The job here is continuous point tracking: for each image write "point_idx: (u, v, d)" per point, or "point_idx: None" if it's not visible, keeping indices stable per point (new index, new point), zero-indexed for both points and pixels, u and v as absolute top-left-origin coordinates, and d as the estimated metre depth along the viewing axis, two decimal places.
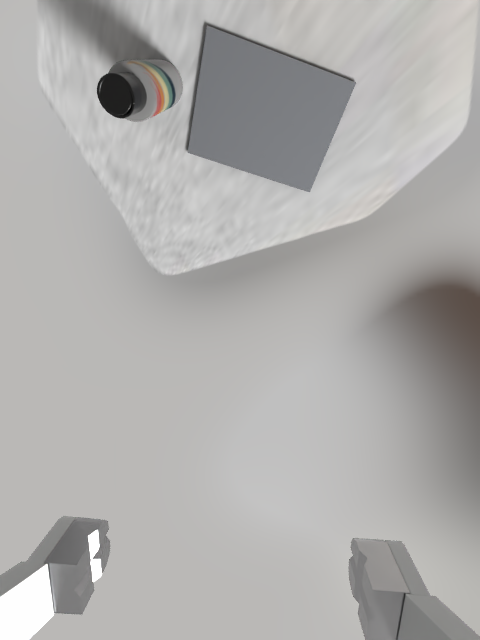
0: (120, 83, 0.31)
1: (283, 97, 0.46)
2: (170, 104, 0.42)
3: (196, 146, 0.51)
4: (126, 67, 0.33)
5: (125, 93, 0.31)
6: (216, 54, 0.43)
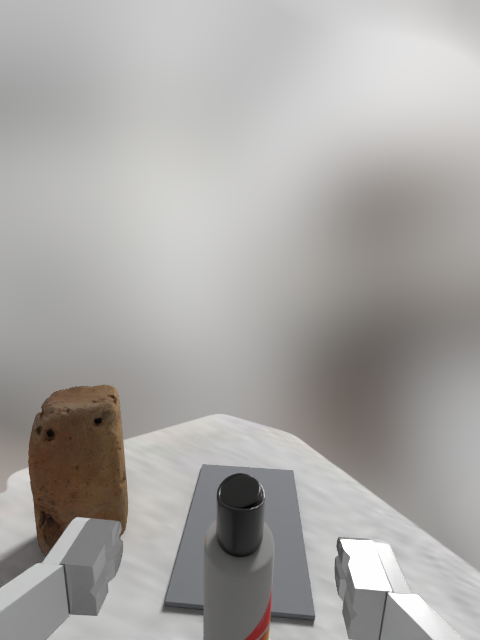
0: (225, 487, 0.24)
1: None
2: None
3: (300, 600, 0.33)
4: (211, 541, 0.24)
5: (234, 481, 0.25)
6: (192, 585, 0.35)
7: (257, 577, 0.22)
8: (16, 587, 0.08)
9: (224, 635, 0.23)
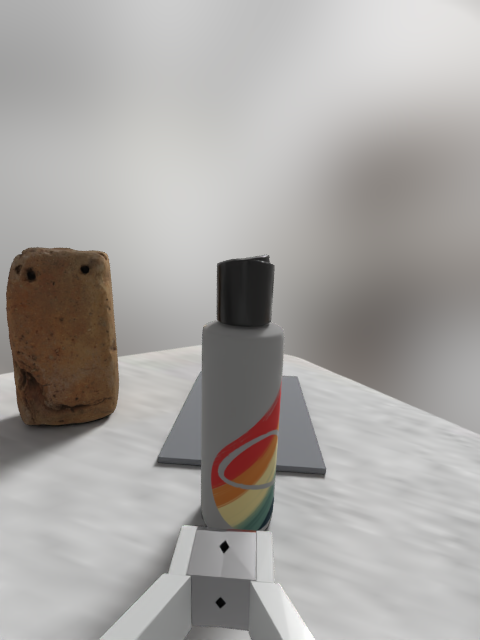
0: None
1: None
2: None
3: (309, 458, 0.30)
4: (211, 325, 0.21)
5: (238, 259, 0.21)
6: (188, 446, 0.31)
7: (265, 346, 0.19)
8: (153, 599, 0.08)
9: (226, 425, 0.20)
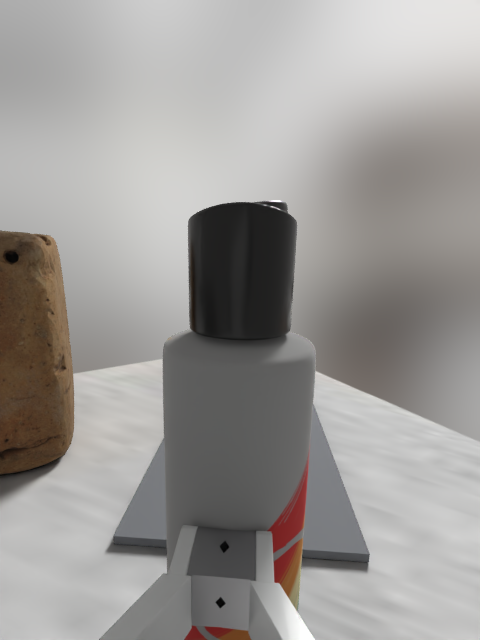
0: None
1: None
2: None
3: (341, 533, 0.20)
4: (179, 337, 0.11)
5: None
6: (161, 514, 0.21)
7: (284, 380, 0.09)
8: (154, 599, 0.08)
9: None
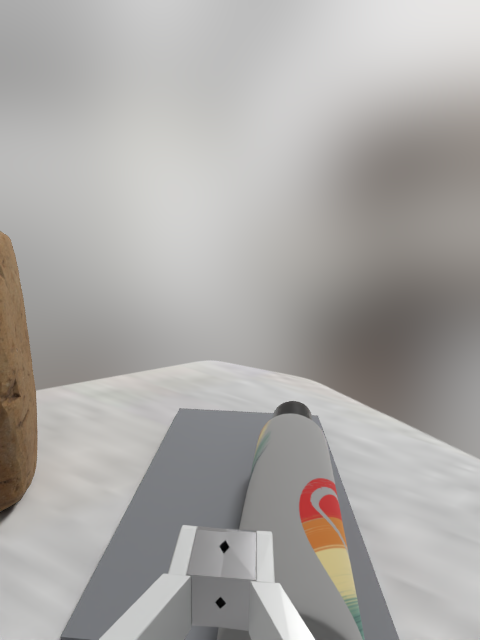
0: None
1: (203, 463, 0.26)
2: None
3: (369, 632, 0.15)
4: None
5: None
6: (129, 597, 0.16)
7: None
8: (153, 599, 0.08)
9: (315, 462, 0.19)
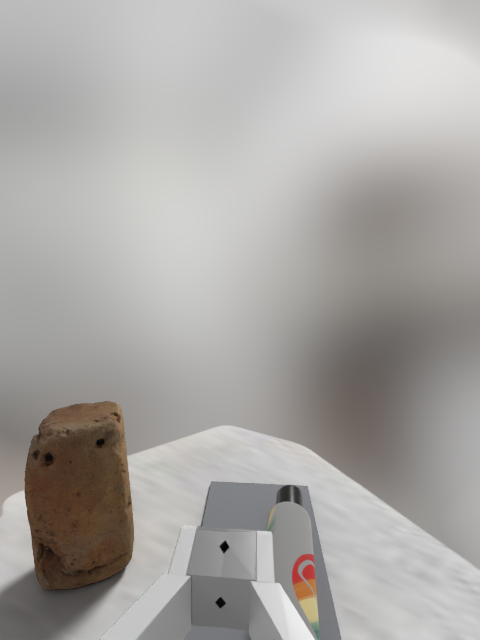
0: None
1: None
2: None
3: (327, 637, 0.30)
4: None
5: None
6: None
7: (310, 521, 0.40)
8: (153, 599, 0.08)
9: (301, 543, 0.35)
